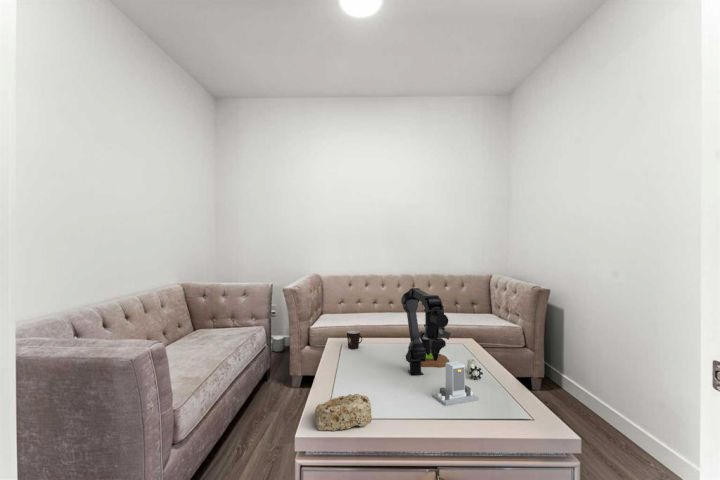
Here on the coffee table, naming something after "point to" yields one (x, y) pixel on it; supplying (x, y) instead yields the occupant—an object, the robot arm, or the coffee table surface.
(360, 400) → the rock
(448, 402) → the rail
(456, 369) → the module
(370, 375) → the coffee table surface
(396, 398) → the coffee table surface
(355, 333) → the coffee mug
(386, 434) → the coffee table surface
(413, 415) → the coffee table surface
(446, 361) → the plant
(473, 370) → the valve
